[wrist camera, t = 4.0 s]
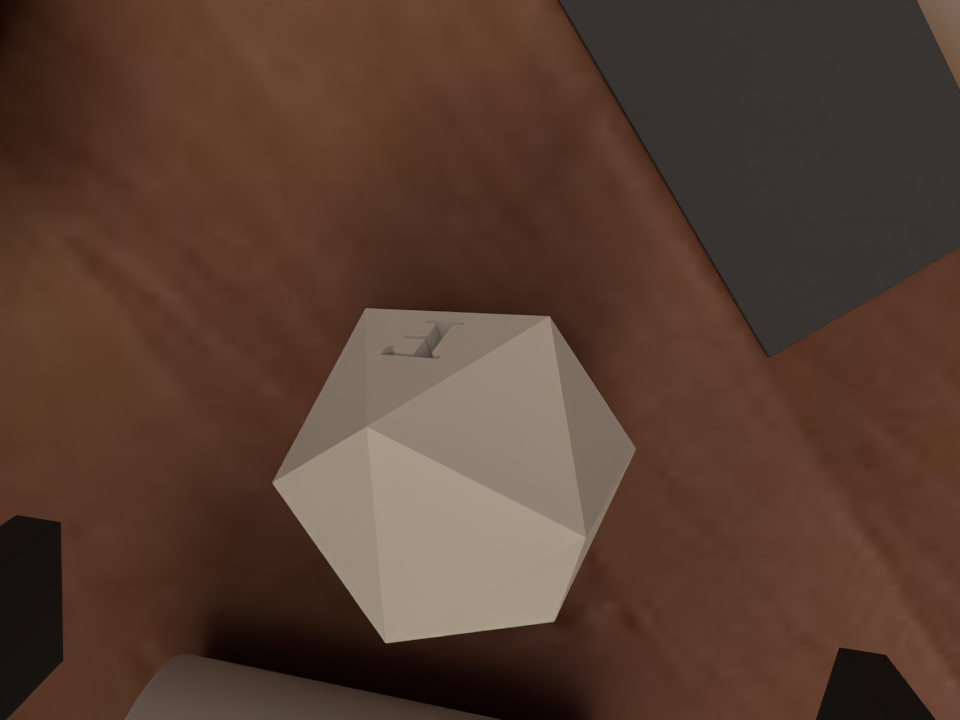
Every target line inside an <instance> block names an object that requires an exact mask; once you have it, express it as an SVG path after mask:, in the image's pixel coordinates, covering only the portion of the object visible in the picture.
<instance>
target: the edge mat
mask: <svg viewBox="0 0 960 720" xmlns="http://www.w3.org/2000/svg"><path fill="white" fill-rule="evenodd" d="M558 1H559V3H560V4H561V6H562V8H563V10H564V11H565V13H566V15H567V16H568V18H569V20H570V21H571V23H572V25H573V27H574V28H575V30H576V32H577V33H578V35H579V37H580V38H581V40H582V42H583V44H584V45H585V47H586V49H587V50H588V52H589V54H590V55H591V57H592V59H593V61H594V62H595V64H596V66H597V67H598V69H599V71H600V72H601V74H602V76H603V78H604V79H605V81H606V83H607V84H608V86H609V88H610V90H611V91H612V93H613V95H614V96H615V98H616V100H617V101H618V103H619V105H620V107H621V108H622V110H623V112H624V113H625V115H626V117H627V118H628V120H629V122H630V124H631V125H632V127H633V129H634V130H635V132H636V134H637V135H638V137H639V139H640V141H641V142H642V144H643V146H644V147H645V149H646V151H647V152H648V154H649V156H650V158H651V159H652V161H653V163H654V164H655V166H656V168H657V170H658V171H659V173H660V175H661V176H662V178H663V180H664V181H665V183H666V185H667V187H668V188H669V190H670V192H671V193H672V195H673V197H674V198H675V200H676V202H677V204H678V205H679V207H680V209H681V210H682V212H683V214H684V215H685V217H686V219H687V221H688V222H689V224H690V226H691V227H692V229H693V231H694V232H695V234H696V236H697V238H698V239H699V241H700V243H701V244H702V246H703V248H704V249H705V251H706V253H707V255H708V256H709V258H710V260H711V261H712V263H713V265H714V267H715V268H716V270H717V272H718V273H719V275H720V277H721V278H722V280H723V282H724V284H725V285H726V287H727V289H728V290H729V292H730V294H731V295H732V297H733V299H734V301H735V302H736V304H737V306H738V307H739V309H740V311H741V312H742V314H743V316H744V318H745V319H746V321H747V323H748V324H749V326H750V328H751V329H752V331H753V333H754V335H755V336H756V338H757V340H758V341H759V343H760V345H761V346H762V348H763V350H764V352H765V353H766V355H767V356H768V357H771V356H773V355H774V354H776V353H778V352H780V351H781V350H783V349H785V348H786V347H788V346H790V345H792V344H793V343H795V342H797V341H799V340H800V339H802V338H804V337H805V336H807V335H809V334H811V333H812V332H814V331H816V330H818V329H819V328H821V327H823V326H824V325H826V324H828V323H830V322H831V321H833V320H835V319H837V318H838V317H840V316H842V315H843V314H845V313H847V312H849V311H850V310H852V309H854V308H855V307H857V306H859V305H861V304H862V303H864V302H866V301H868V300H869V299H871V298H873V297H874V296H876V295H878V294H880V293H881V292H883V291H885V290H887V289H888V288H890V287H892V286H893V285H895V284H897V283H899V282H900V281H902V280H904V279H906V278H907V277H909V276H911V275H912V274H914V273H916V272H918V271H919V270H921V269H923V268H924V267H926V266H928V265H930V264H931V263H933V262H935V261H937V260H938V259H940V258H942V257H943V256H945V255H947V254H949V253H950V252H952V251H954V250H956V249H957V248H959V247H960V90H959V87H958V85H957V83H956V81H955V79H954V77H953V75H952V73H951V71H950V69H949V66H948V65H947V62H946V60H945V58H944V56H943V54H942V52H941V50H940V48H939V46H938V44H937V42H936V40H935V37H934V35H933V33H932V31H931V29H930V27H929V25H928V23H927V21H926V19H925V17H924V15H923V13H922V10H921V8H920V6H919V4H918V2H917V0H558Z"/></svg>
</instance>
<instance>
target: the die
mask: <svg viewBox="0 0 960 720" xmlns="http://www.w3.org/2000/svg"><path fill="white" fill-rule="evenodd" d="M635 450H636V448H635V446H634V445H633V443H632V442H631V440H630V439H629V437H628V436H627V434H626V433H625V431H624V430H623V428H622V426H621V425H620V423H619V422H618V420H617V419H616V417H615V416H614V414H613V413H612V411H611V410H610V408H609V407H608V405H607V403H606V402H605V400H604V399H603V397H602V396H601V394H600V393H599V391H598V390H597V388H596V387H595V385H594V384H593V382H592V381H591V379H590V377H589V376H588V374H587V373H586V371H585V370H584V368H583V367H582V365H581V364H580V362H579V361H578V359H577V358H576V356H575V355H574V353H573V351H572V350H571V348H570V347H569V345H568V344H567V342H566V341H565V339H564V338H563V336H562V335H561V333H560V332H559V330H558V329H557V327H556V325H555V324H554V322H553V321H552V319H551V318H550V316H531V315H508V314H485V313H462V312H439V311H416V310H393V309H370V308H365V310H364V312H363V314H362V316H361V318H360V320H359V321H358V323H357V325H356V327H355V329H354V331H353V333H352V335H351V336H350V338H349V340H348V342H347V344H346V346H345V348H344V349H343V351H342V353H341V355H340V357H339V359H338V361H337V363H336V364H335V366H334V368H333V370H332V372H331V374H330V376H329V377H328V379H327V381H326V383H325V385H324V387H323V389H322V391H321V392H320V394H319V396H318V398H317V400H316V402H315V404H314V405H313V407H312V409H311V411H310V413H309V415H308V417H307V419H306V420H305V422H304V424H303V426H302V428H301V430H300V432H299V434H298V435H297V437H296V439H295V441H294V443H293V445H292V447H291V448H290V450H289V452H288V454H287V456H286V458H285V460H284V462H283V463H282V465H281V467H280V469H279V471H278V473H277V475H276V476H275V478H274V480H273V482H272V483H273V485H274V486H275V488H276V489H277V490H278V492H279V493H280V495H281V496H282V498H283V499H284V500H285V502H286V503H287V505H288V506H289V507H290V509H291V510H292V512H293V513H294V514H295V516H296V517H297V519H298V520H299V522H300V523H301V524H302V526H303V527H304V529H305V530H306V531H307V533H308V534H309V536H310V537H311V538H312V540H313V541H314V543H315V544H316V546H317V547H318V548H319V550H320V551H321V553H322V554H323V555H324V557H325V558H326V560H327V561H328V563H329V564H330V565H331V567H332V568H333V570H334V571H335V572H336V574H337V575H338V577H339V578H340V579H341V581H342V582H343V584H344V585H345V587H346V588H347V589H348V591H349V592H350V594H351V595H352V596H353V598H354V599H355V601H356V602H357V603H358V605H359V606H360V608H361V609H362V611H363V612H364V613H365V615H366V616H367V618H368V619H369V620H370V622H371V623H372V625H373V626H374V628H375V629H376V630H377V632H378V633H379V635H380V636H381V637H382V639H383V640H384V642H385V643H392V642H400V641H408V640H416V639H423V638H431V637H439V636H447V635H455V634H462V633H470V632H478V631H486V630H494V629H501V628H509V627H517V626H525V625H533V624H540V623H548V622H554V621H555V619H556V617H557V615H558V613H559V611H560V608H561V606H562V604H563V602H564V600H565V598H566V596H567V594H568V592H569V589H570V587H571V585H572V583H573V581H574V579H575V577H576V575H577V573H578V570H579V568H580V566H581V564H582V562H583V560H584V558H585V556H586V554H587V551H588V549H589V547H590V545H591V543H592V541H593V539H594V537H595V535H596V532H597V530H598V528H599V526H600V524H601V522H602V520H603V518H604V516H605V513H606V511H607V509H608V507H609V505H610V503H611V501H612V499H613V497H614V494H615V492H616V490H617V488H618V486H619V484H620V482H621V480H622V478H623V475H624V473H625V471H626V469H627V467H628V465H629V463H630V461H631V459H632V456H633V454H634V452H635Z"/></svg>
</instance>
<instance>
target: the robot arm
mask: <svg viewBox="0 0 960 720" xmlns="http://www.w3.org/2000/svg"><path fill="white" fill-rule="evenodd" d="M62 661H63V622H62V564H61V522H56V521H50V520H44V519H37V518H31V517H25V516H19V515H16V516H15V517H13V518H12V519H10V520H8V521H7V522H5V523H4V524H2V525H1V526H0V720H6V719H7V718H8V717H9V716H10V715H11V714H12V713H13V712H14V711H15V710H16V709H17V708H18V707H19V706H20V705H21V704H22V703H23V702H24V701H25V700H26V698H27V697H28V696H29V695H30V694H31V693H32V692H33V691H34V690H35V689H36V688H37V687H38V686H39V685H40V684H41V683H42V682H43V681H44V680H45V679H46V678H47V677H48V676H49V675H50V674H51V672H52V671H53V670H54V669H55V668H56V667H57V666H58V665H59V664H60V663H61V662H62ZM816 720H935V718H934V717H933V716H932V714H931V713H930V712H929V710H928V709H927V708H926V707H925V705H924V704H923V703H922V701H921V700H920V699H919V697H918V696H917V695H916V694H915V692H914V691H913V690H912V688H911V687H910V686H909V684H908V683H907V682H906V680H905V679H904V678H903V677H902V675H901V674H900V673H899V671H898V670H897V669H896V667H895V666H894V665H893V664H892V662H891V661H890V660H889V658H888V657H887V656H886V655H882V654H876V653H870V652H864V651H858V650H851V649H845V648H839V650H838V653H837V656H836V659H835V662H834V666H833V669H832V672H831V675H830V678H829V681H828V684H827V687H826V690H825V693H824V697H823V700H822V703H821V706H820V709H819V712H818V715H817V718H816Z"/></svg>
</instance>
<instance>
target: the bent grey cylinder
mask: <svg viewBox="0 0 960 720" xmlns="http://www.w3.org/2000/svg"><path fill="white" fill-rule="evenodd" d="M125 720H501V719H496V718H491V717H487V716H482V715H477V714H472V713H468V712H463V711H458V710H453V709H449V708H444V707H439V706H434V705H430V704H425V703H420V702H415V701H411V700H406V699H401V698H396V697H392V696H387V695H382V694H377V693H373V692H368V691H363V690H358V689H353V688H349V687H344V686H339V685H334V684H330V683H325V682H320V681H315V680H311V679H306V678H301V677H296V676H292V675H287V674H282V673H277V672H273V671H268V670H263V669H258V668H254V667H249V666H244V665H239V664H235V663H230V662H225V661H220V660H216V659H211V658H206V657H201V656H197V655H192V654H187V653H183V654H179V655H177V656H175V657H173V658H171V659H170V660H169V661H168V662H166V663H165V664H164V665H163V666H162V667H161V668H160V669H159V670H158V671H157V673H156V674H155V675H154V676H153V677H152V679H151V680H150V681H149V682H148V684H147V685H146V687H145V688H144V689H143V691H142V692H141V694H140V695H139V697H138V698H137V700H136V701H135V703H134V704H133V706H132V708H131V709H130V711H129V713H128V714H127V716H126V718H125Z"/></svg>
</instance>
